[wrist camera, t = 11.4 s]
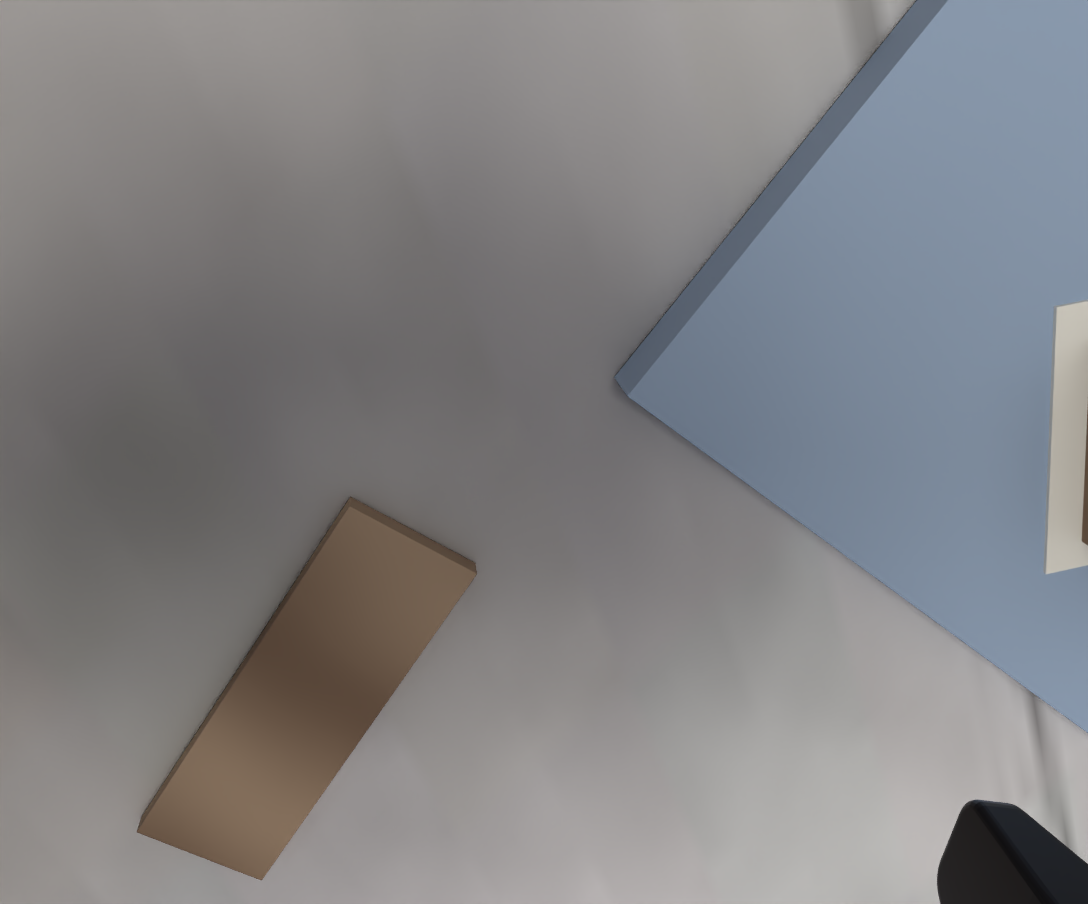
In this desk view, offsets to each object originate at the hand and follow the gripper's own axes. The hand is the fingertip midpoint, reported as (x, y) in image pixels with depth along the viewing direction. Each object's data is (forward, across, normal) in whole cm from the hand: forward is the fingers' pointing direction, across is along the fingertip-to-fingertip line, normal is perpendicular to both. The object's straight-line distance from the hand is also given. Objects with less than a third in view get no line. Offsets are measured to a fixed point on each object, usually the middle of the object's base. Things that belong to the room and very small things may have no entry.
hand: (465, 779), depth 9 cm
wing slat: (+11, +4, +8) cm, 14 cm away
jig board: (+14, -12, -1) cm, 19 cm away
